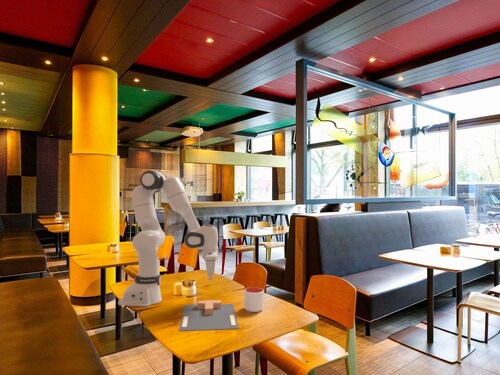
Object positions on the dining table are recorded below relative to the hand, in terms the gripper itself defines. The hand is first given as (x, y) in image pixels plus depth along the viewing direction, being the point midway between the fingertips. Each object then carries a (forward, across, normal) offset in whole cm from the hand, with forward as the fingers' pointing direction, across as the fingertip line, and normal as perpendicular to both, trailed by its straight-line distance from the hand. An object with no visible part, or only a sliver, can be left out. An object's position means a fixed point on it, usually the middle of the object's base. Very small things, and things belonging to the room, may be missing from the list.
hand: (210, 279), depth 175 cm
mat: (+13, +19, -1) cm, 23 cm away
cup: (+14, +12, +22) cm, 28 cm away
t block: (+12, +12, -1) cm, 17 cm away
